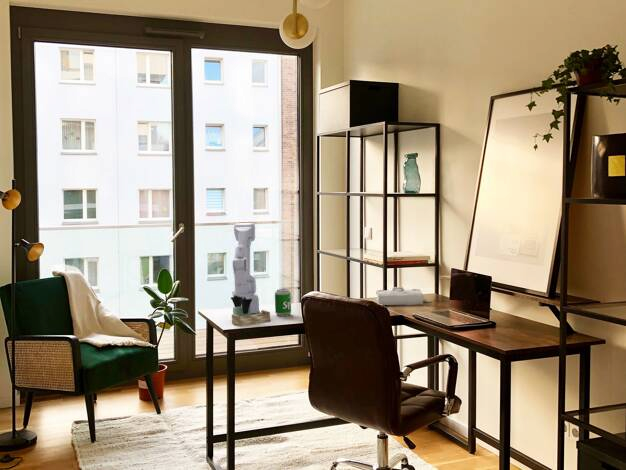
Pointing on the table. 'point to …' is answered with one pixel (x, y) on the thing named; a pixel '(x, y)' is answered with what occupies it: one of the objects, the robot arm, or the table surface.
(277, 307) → the soda can
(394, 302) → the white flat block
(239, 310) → the door panel
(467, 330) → the table surface
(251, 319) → the track sill
